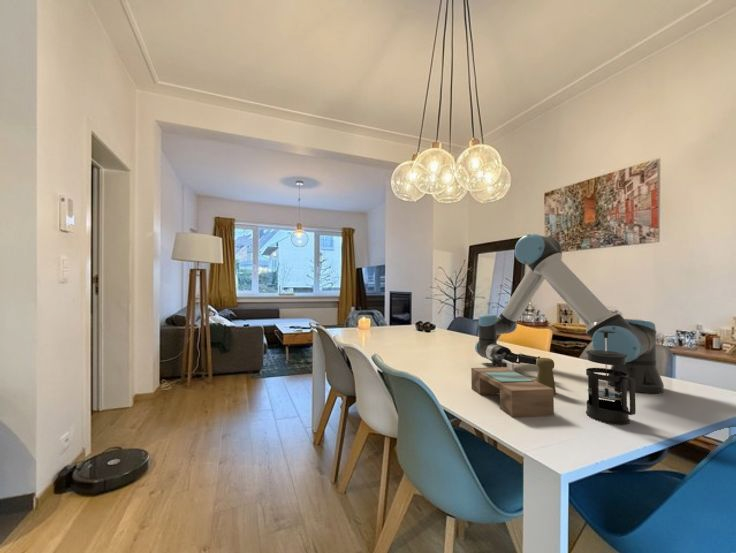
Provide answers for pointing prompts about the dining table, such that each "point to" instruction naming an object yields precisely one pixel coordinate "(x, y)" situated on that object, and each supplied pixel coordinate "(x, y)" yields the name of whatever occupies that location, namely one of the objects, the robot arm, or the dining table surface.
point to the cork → (546, 372)
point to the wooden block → (514, 391)
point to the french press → (605, 408)
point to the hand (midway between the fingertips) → (531, 367)
